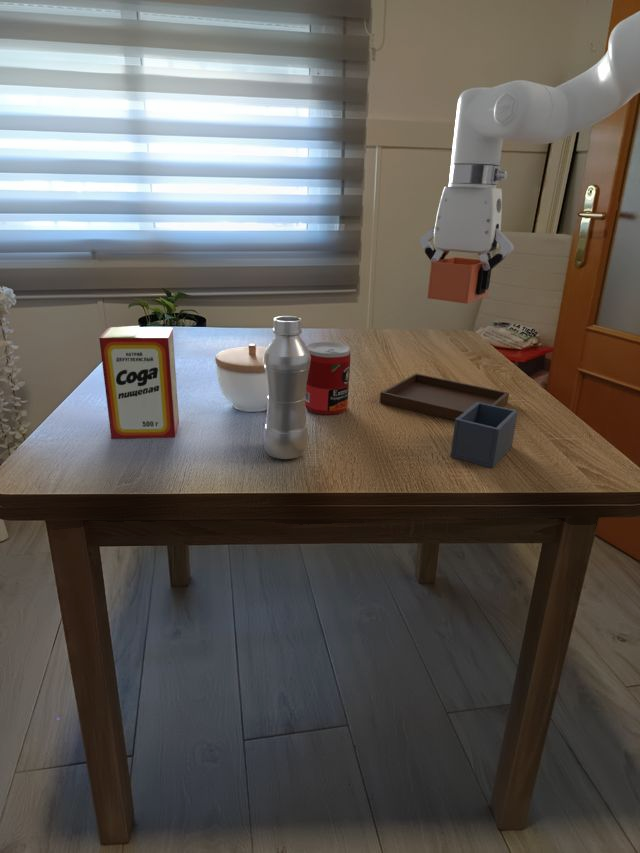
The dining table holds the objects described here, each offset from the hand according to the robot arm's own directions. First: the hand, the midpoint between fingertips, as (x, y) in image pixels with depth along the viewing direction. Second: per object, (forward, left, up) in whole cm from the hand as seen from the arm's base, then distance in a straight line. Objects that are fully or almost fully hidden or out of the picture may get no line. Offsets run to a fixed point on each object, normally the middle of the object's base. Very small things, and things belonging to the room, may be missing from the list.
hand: (458, 290), depth 98 cm
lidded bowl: (+27, +23, -21) cm, 41 cm away
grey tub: (-13, +17, -21) cm, 29 cm away
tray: (0, 0, -21) cm, 21 cm away
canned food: (+16, +16, -21) cm, 31 cm away
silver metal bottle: (+10, +36, -21) cm, 42 cm away
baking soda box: (+33, +42, -21) cm, 57 cm away
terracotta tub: (0, 0, -1) cm, 1 cm away
